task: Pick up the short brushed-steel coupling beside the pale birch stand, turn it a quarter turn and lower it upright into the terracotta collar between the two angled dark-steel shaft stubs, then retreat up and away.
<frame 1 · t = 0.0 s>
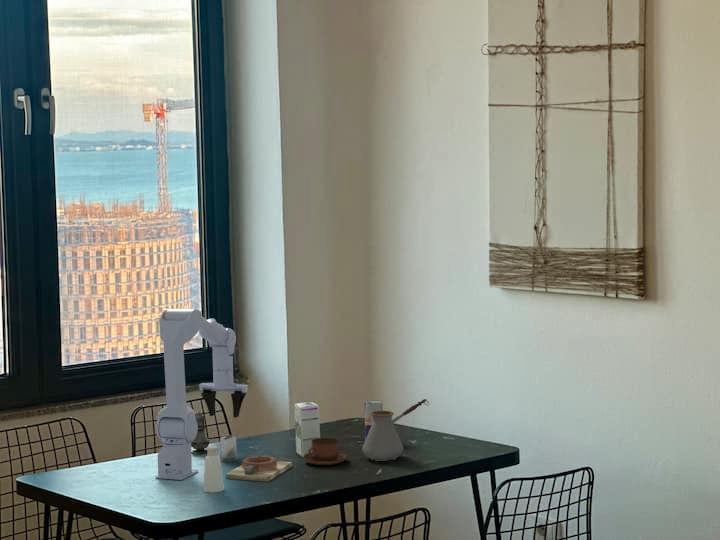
hand: (224, 416, 327), 10 cm above the table, tool pointing down, fingers open, 7 cm apart
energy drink: (374, 442, 336), on the table
cup and saucer: (325, 463, 312), on the table
coupling stand: (259, 472, 302), on the table
white squeeze bottle: (213, 490, 286), on the table
steel coupling: (228, 460, 316), on the table
coffee pot: (397, 456, 317), on the table
syrup box: (308, 455, 321), on the table
grey flanged cylinder: (200, 453, 326), on the table
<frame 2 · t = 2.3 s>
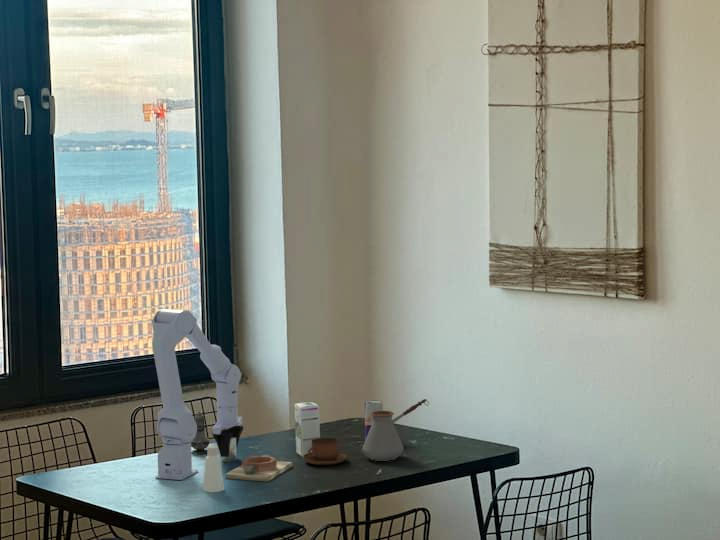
hand: (228, 454, 316), 2 cm above the table, tool pointing down, fingers closed on steel coupling, 4 cm apart
steel coupling: (228, 460, 316), on the table, touching gripper
everything else where it was.
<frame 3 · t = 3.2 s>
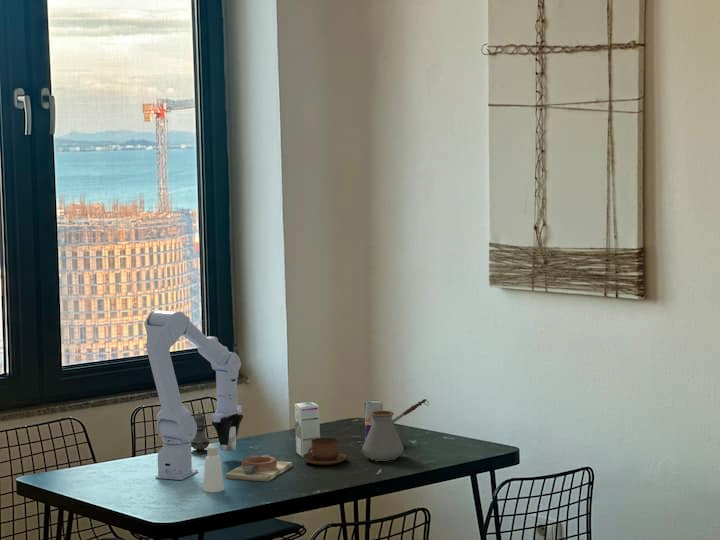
hand: (228, 442, 316), 5 cm above the table, tool pointing down, fingers closed on steel coupling, 4 cm apart
steel coupling: (228, 448, 316), point 3 cm above the table, touching gripper
everything else where it was.
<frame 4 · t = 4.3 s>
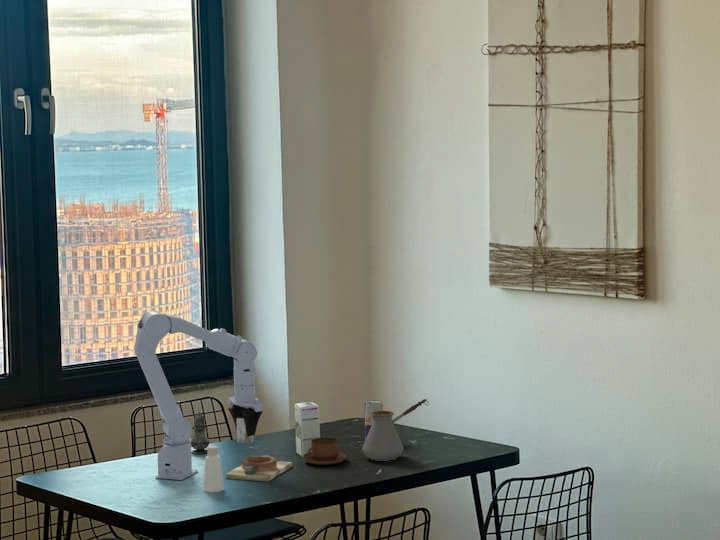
hand: (245, 434, 307), 9 cm above the table, tool pointing down, fingers closed on steel coupling, 4 cm apart
steel coupling: (245, 440, 307), point 7 cm above the table, touching gripper
everything else where it was.
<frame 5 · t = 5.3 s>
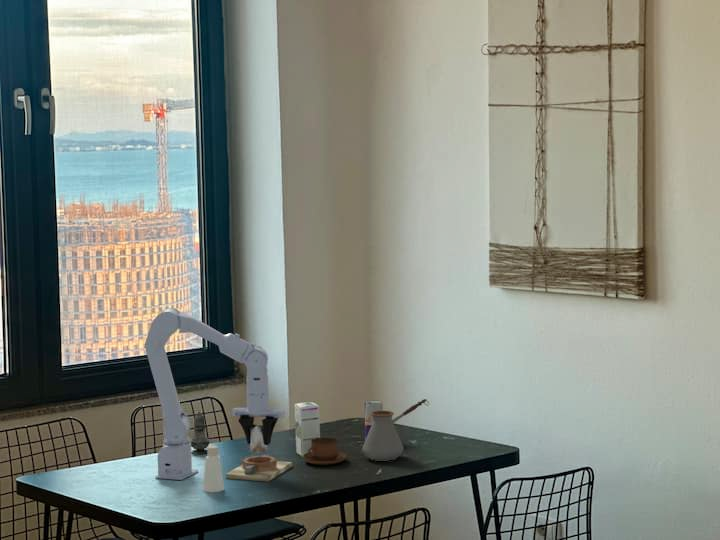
hand: (258, 443, 301), 8 cm above the table, tool pointing down, fingers closed on steel coupling, 4 cm apart
steel coupling: (258, 450, 301), point 6 cm above the table, touching gripper
everything else where it was.
when the fingers open (4 cm above the table, at t = 6.9 s): steel coupling stays where it is, resting on coupling stand.
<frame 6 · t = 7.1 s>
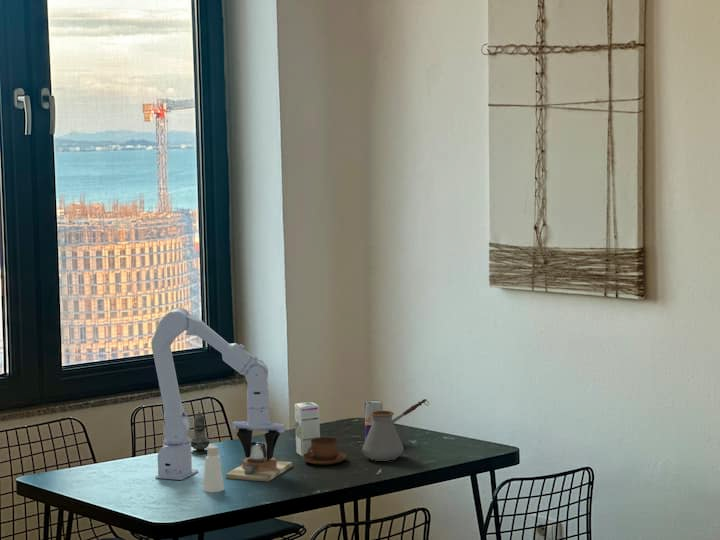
hand: (259, 457, 302), 4 cm above the table, tool pointing down, fingers open, 6 cm apart
steel coupling: (259, 467, 302), point 1 cm above the table, touching coupling stand
everything else where it was.
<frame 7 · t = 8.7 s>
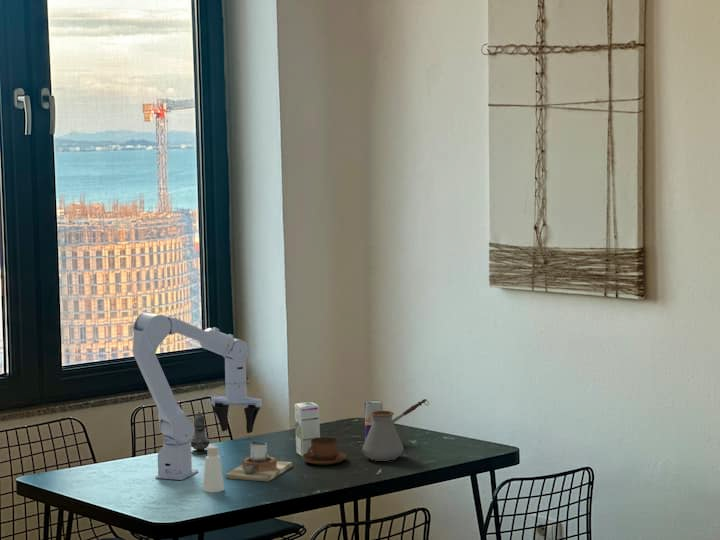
hand: (237, 431, 310), 9 cm above the table, tool pointing down, fingers open, 7 cm apart
nothing on the table moved.
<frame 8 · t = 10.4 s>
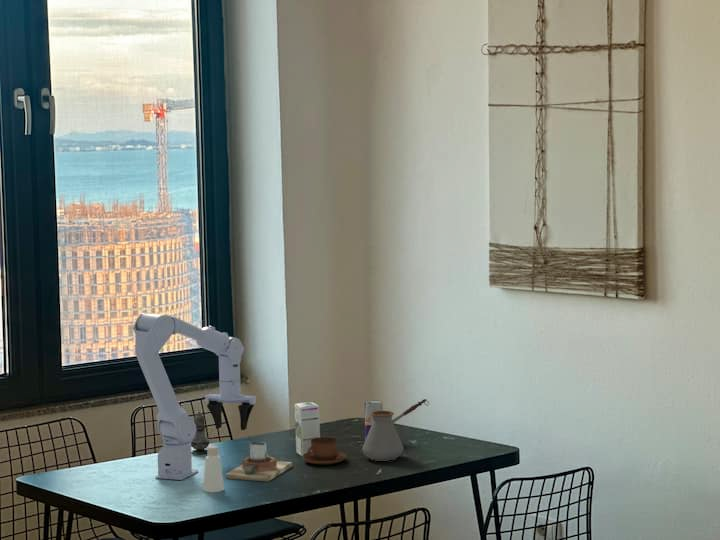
hand: (231, 428, 313), 9 cm above the table, tool pointing down, fingers open, 7 cm apart
nothing on the table moved.
at the end: steel coupling 0.2 cm off-centre on the coupling stand, point 1.3 cm above the coupling stand's base; steel coupling tilted 1°; the gripper is holding nothing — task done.
